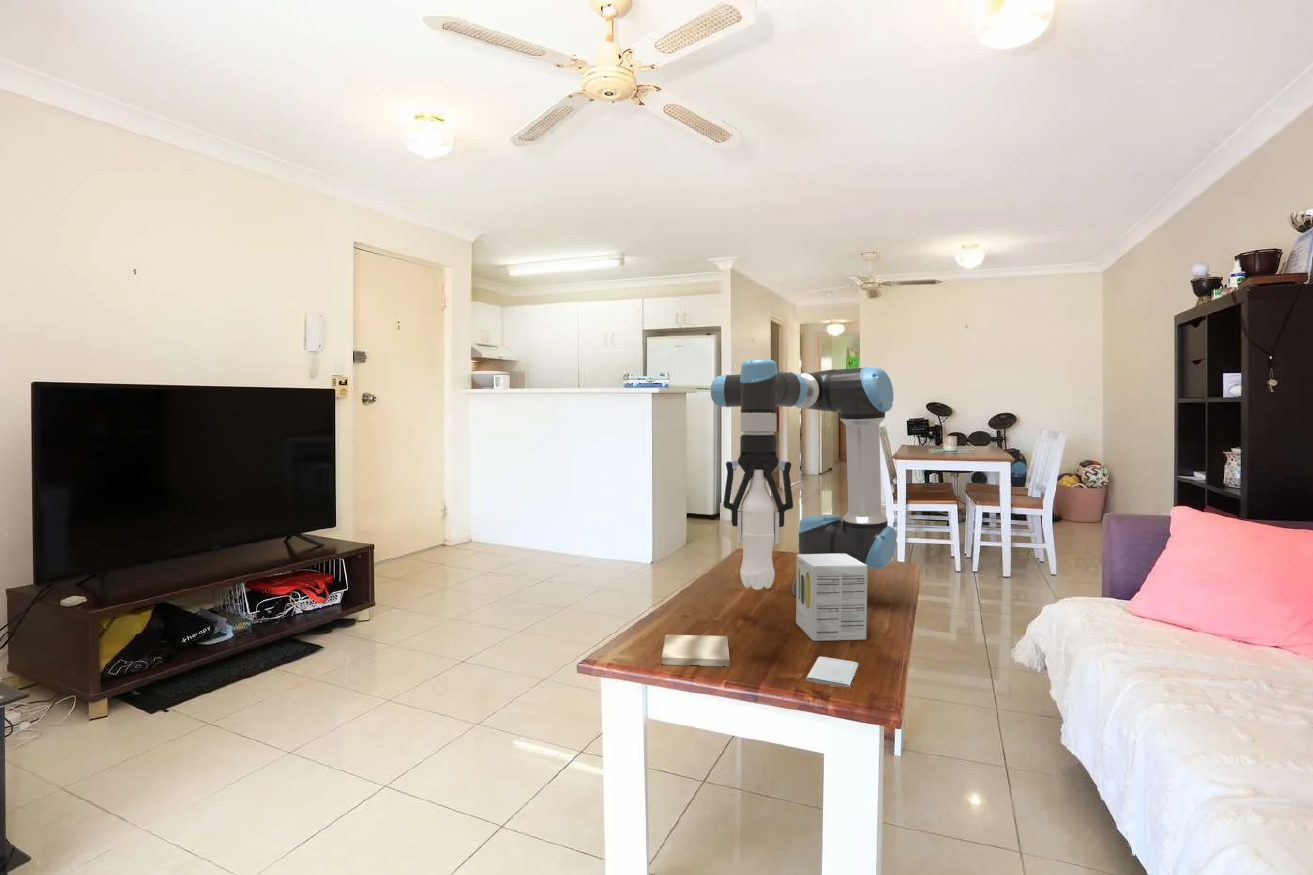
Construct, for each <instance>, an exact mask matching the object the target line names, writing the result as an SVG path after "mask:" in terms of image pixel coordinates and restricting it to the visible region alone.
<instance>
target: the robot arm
mask: <svg viewBox="0 0 1313 875" xmlns="http://www.w3.org/2000/svg"><path fill="white" fill-rule="evenodd" d="M740 368H741V369H740V373H739V374H724V375H718V376H716V377H714V378H713V380H712V382H711V384H710V398H711V401H712V402H713V404H715V405H716V406H717V407H721V408H722V407H725V408H737V407H739V408H740V422H739V423H740V428H739V429H740V432H742V433H743V434H741V435H740V439H739V440H740V441H739V442H740V444H739V445H740V449H739V452H740V453H739V456H738V458H737V459H735V460H732V461H731V460H727V461H726V462H725V467H726V472H727V473H726V482H725V487H724V488H725V489H724V496H723V504H722V505H723V507H724V509H728V510H730V511H731V525H732V527H736V541H737V544H741V543H742V540H741V509H740V510H739V508H740V506H741V504H742V501H743V499H744V496H745V494H746V493H745V492H746V489H747V487H748V484H750V482H751V481H750V478H753V476H754V475H753V474H754V470H764V471H763V476H764V477H765V479H766V482H767V485H768V486H769V490H770V492H771V496H772V497H773V498H772V499H773V501H774V504H775V505H776V507H777V510H775V511H774V533H775V539H774V544H780V528H783V527H784V526H785V512H787V511H788V510H792V509H794V502H793V492H792V484H791V476H790V472H791V468H792V463H791V462H789V461H788V460H787V461H783V460H780V459H779V458H778V455H777V436H776V435H775V434H774V433H776V432H777V429H778V428H777V420H778V418H777V407H790V408H792V407H795V408H797V409H808V410H815V411H820V412H832V413H839V420H840V421H841V422H842V423H843V424H844V425H845V434H846V435H845V436H846V437H845V439H846V442H845V443H846V472H847V473H846V474H847V475H846V476H847V477H846V479H847V500H848V501H847V507H848V508H847V509H848V510H847V512H846V514H845V515H843V517H842V518H841V515H840V514H818V515H817V514H816V515H810V516H805V517H802V518H801V519H800V521H799V524H798V525H799V526H798V527H799V528H798V533H797V534H798V554H847V555H849V556H851V557H853V558H855V559H857V560H858V561H860V562H862V563H864V564H866V565H867V569H874V570H875V569H877V570H881V569H882V570H883V569H885V568H886V567H887V566H888V565H889V564H890V563H891V561H892V559H893V557H894V554H895V551H896V548H897V547H896V546H897V537H898V536H897V532H896V529H895V528H894V527H892V526H890V525H889V524H888V523H889V522H888V517H887V516H886V515H885V514H884V513H883V512H882V482H881V479H882V478H881V476H882V475H881V439H880V438H881V436H880V426H881V425H880V424H881V423H882V422H883V421H884V420H885V419H886V412H889V411H890V410H891V409H892V407H893V405H894V404H893V402H894V398H895V397H894V388H893V383H892V381H891V379H890V377H889V375H888V373H887V372H886V371H885V370H884V369H882V368H879V367H867V366H864V367H855V368H840V369H834V368H833V369H825V370H819V371H813V372H807V373H806V372H805V373H804V372H801V373H798V374H797V373H794V372H791V371H790V372H785V371H778V364H777V362H776V361H775V360H773V359H749V360H744V361H743V362H742V363H741V366H740ZM738 466H739V467H740V469H742V471H743V472H744V473H743V475H742V479H741V482H740V485H739V487H738V489H737V492H736V495H735V496H734V499H733V502H732V503H731V499H732V498H731V496H732V490H733V482H734V475H735V474H734V472H735V471H737V469H738V468H737V467H738ZM777 466H778V467H779V470H780V471H781V472H782V481H783V482H782V483H783V492H784V500H785V503H783V501H782V498H781V496H780V493H779V491H778V488H777V485H776V482H775V480H774V476H773V474H772V473H773V472H774V470H775V469H776V468H777ZM796 584H797V573H796V574H795V576H794V580H793V583H792V588H791V589H792V591H791V592H792V596H794V597H795V598H796Z"/></svg>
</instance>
